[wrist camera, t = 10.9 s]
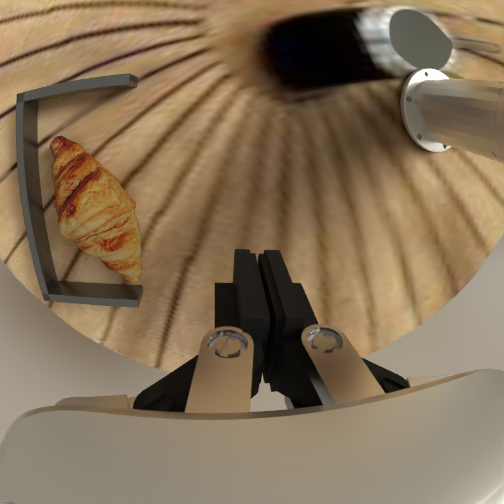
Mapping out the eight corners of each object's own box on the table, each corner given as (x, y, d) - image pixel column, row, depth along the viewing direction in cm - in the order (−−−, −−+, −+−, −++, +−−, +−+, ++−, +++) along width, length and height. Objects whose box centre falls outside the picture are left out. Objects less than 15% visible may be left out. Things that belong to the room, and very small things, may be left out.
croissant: (160, 252, 40) (179, 268, 34) (105, 293, 37) (113, 317, 30) (88, 122, 30) (90, 108, 24) (25, 165, 27) (11, 161, 20)
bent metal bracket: (137, 77, 26) (129, 73, 23) (142, 292, 39) (138, 307, 36) (31, 93, 24) (17, 94, 21) (53, 287, 36) (44, 300, 33)
